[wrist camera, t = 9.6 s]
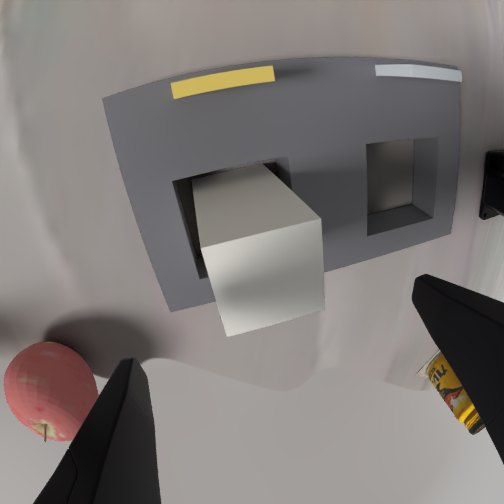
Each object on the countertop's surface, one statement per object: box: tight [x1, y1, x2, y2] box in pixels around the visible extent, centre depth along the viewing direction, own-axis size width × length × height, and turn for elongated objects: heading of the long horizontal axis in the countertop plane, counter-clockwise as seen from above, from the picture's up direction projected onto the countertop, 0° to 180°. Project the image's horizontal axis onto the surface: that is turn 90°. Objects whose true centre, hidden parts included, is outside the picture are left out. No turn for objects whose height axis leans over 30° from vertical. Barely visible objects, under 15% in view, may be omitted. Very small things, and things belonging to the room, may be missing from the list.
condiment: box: [416, 350, 485, 435], centre depth 29 cm, size 7×8×12 cm
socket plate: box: [102, 57, 462, 312], centre depth 15 cm, size 20×12×6 cm, turn 99°
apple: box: [4, 342, 99, 442], centre depth 17 cm, size 7×7×8 cm
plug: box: [192, 164, 325, 337], centre depth 14 cm, size 4×4×8 cm
